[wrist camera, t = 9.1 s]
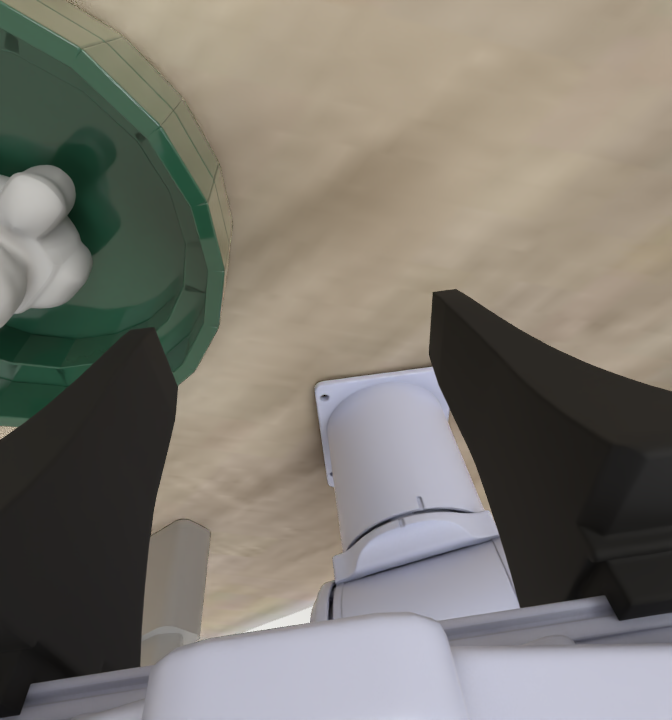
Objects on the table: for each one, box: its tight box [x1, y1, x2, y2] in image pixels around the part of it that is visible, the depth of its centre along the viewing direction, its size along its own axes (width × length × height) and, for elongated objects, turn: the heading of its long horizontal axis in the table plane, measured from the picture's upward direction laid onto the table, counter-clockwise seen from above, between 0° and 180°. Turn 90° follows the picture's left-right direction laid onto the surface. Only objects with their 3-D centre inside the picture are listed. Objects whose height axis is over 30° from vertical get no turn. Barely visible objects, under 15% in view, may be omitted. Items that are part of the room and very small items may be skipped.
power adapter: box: [140, 519, 211, 667], centre depth 30 cm, size 3×5×12 cm, turn 126°
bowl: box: [0, 0, 233, 427], centre depth 17 cm, size 15×15×5 cm
